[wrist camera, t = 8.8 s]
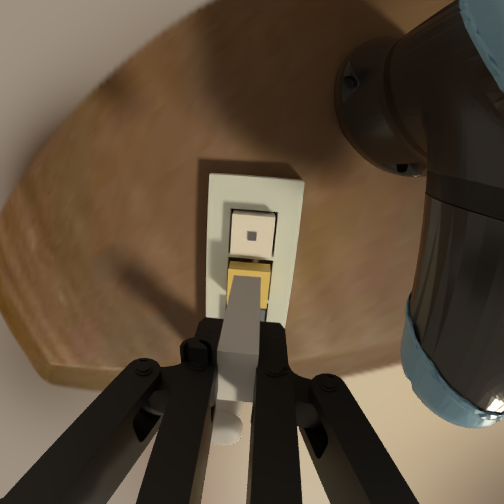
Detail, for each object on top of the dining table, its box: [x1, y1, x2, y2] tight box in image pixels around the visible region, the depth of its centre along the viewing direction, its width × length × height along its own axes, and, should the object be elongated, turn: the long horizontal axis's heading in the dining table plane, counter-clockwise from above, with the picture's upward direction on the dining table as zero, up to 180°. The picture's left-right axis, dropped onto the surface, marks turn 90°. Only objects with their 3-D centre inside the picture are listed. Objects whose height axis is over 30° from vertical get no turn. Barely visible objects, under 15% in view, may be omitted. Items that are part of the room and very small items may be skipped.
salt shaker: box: [211, 399, 244, 445], centre depth 30 cm, size 6×6×13 cm
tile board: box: [206, 173, 305, 329], centre depth 31 cm, size 18×9×2 cm, turn 176°
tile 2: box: [227, 261, 271, 309], centre depth 29 cm, size 4×4×2 cm
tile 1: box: [230, 210, 275, 258], centre depth 29 cm, size 4×4×2 cm
